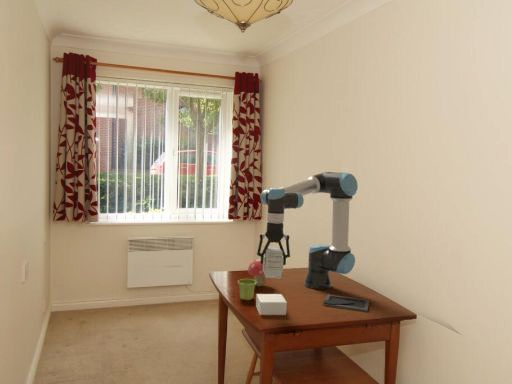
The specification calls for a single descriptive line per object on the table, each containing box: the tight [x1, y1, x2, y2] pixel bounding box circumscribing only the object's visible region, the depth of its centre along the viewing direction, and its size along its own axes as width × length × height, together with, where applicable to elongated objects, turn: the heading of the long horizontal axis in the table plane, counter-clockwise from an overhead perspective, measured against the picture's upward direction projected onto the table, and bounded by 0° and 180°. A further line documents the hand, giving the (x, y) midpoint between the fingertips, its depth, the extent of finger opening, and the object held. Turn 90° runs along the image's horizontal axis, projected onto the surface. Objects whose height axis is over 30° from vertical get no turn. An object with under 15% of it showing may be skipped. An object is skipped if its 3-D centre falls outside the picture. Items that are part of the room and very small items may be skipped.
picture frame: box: [322, 293, 370, 313], centre depth 211 cm, size 16×2×21 cm
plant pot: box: [237, 278, 257, 301], centre depth 211 cm, size 9×9×9 cm
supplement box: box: [264, 246, 283, 279], centre depth 194 cm, size 7×7×13 cm
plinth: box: [255, 293, 288, 316], centre depth 196 cm, size 12×12×6 cm
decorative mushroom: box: [247, 258, 266, 287], centre depth 232 cm, size 13×13×15 cm
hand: (272, 271), depth 195 cm, fingers closed on supplement box, 8 cm apart
